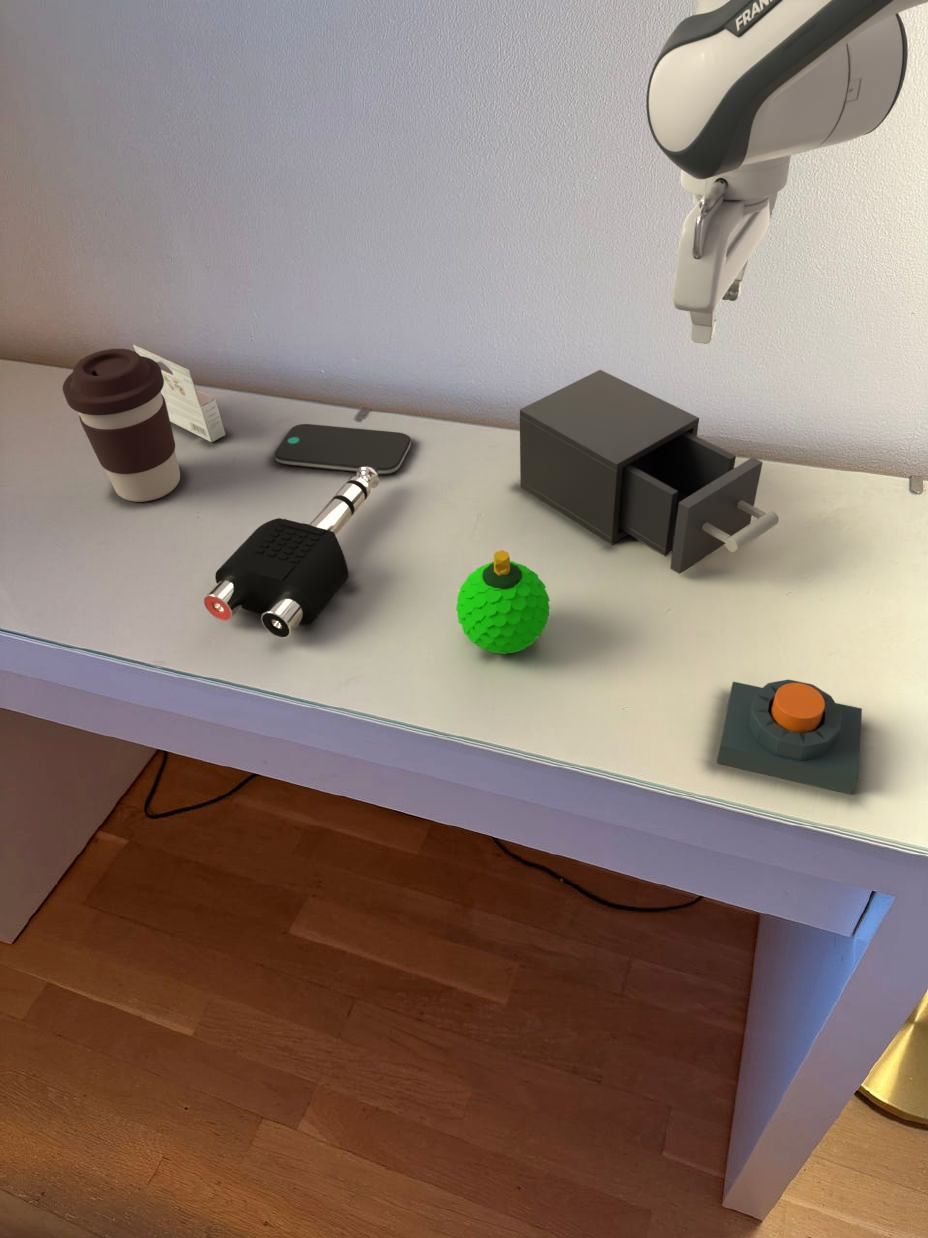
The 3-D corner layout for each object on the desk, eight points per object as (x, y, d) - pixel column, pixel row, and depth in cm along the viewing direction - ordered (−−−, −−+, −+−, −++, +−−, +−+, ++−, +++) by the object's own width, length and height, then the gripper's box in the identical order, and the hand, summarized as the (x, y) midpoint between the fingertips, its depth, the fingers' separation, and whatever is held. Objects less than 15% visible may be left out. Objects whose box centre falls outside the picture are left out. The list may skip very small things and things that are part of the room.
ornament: (549, 610, 86) (551, 525, 79) (548, 674, 80) (549, 588, 74) (463, 609, 87) (457, 524, 80) (455, 672, 81) (448, 587, 74)
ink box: (170, 407, 117) (148, 335, 110) (226, 435, 111) (207, 361, 105) (154, 415, 116) (130, 343, 109) (210, 444, 110) (189, 370, 103)
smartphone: (294, 421, 111) (414, 432, 108) (295, 428, 111) (414, 439, 108) (269, 457, 106) (395, 470, 102) (270, 463, 106) (395, 476, 103)
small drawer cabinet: (688, 497, 98) (699, 417, 91) (611, 544, 93) (617, 464, 86) (595, 445, 106) (600, 368, 99) (520, 486, 101) (519, 409, 94)
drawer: (785, 547, 90) (801, 480, 84) (714, 596, 85) (727, 529, 80) (654, 475, 99) (661, 411, 94) (585, 515, 95) (588, 451, 90)
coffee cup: (200, 457, 108) (165, 337, 98) (184, 508, 101) (144, 384, 91) (116, 462, 108) (71, 343, 98) (94, 513, 101) (43, 391, 91)
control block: (855, 726, 75) (867, 692, 72) (851, 794, 70) (863, 762, 67) (728, 699, 77) (736, 666, 75) (716, 763, 73) (723, 730, 70)
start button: (821, 703, 72) (826, 688, 71) (818, 738, 70) (823, 723, 68) (774, 693, 73) (777, 678, 72) (768, 727, 71) (772, 712, 69)
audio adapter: (190, 580, 84) (328, 437, 100) (204, 622, 88) (335, 478, 104) (293, 609, 80) (419, 456, 96) (303, 652, 84) (423, 498, 100)
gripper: (740, 208, 71) (719, 373, 80) (799, 129, 84) (775, 279, 93) (660, 200, 73) (649, 362, 82) (729, 125, 86) (713, 272, 95)
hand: (716, 317), depth 88 cm, fingers open, 8 cm apart
